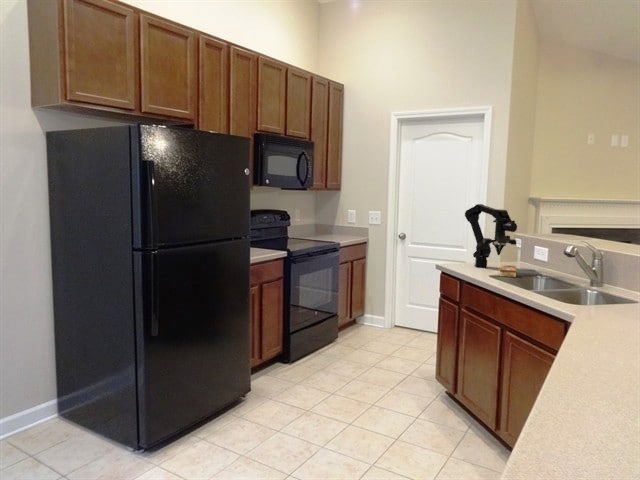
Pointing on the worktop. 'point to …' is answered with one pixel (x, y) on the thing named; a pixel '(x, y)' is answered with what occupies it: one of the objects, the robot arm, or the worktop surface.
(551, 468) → the worktop surface
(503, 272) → the candy box
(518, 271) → the mat
